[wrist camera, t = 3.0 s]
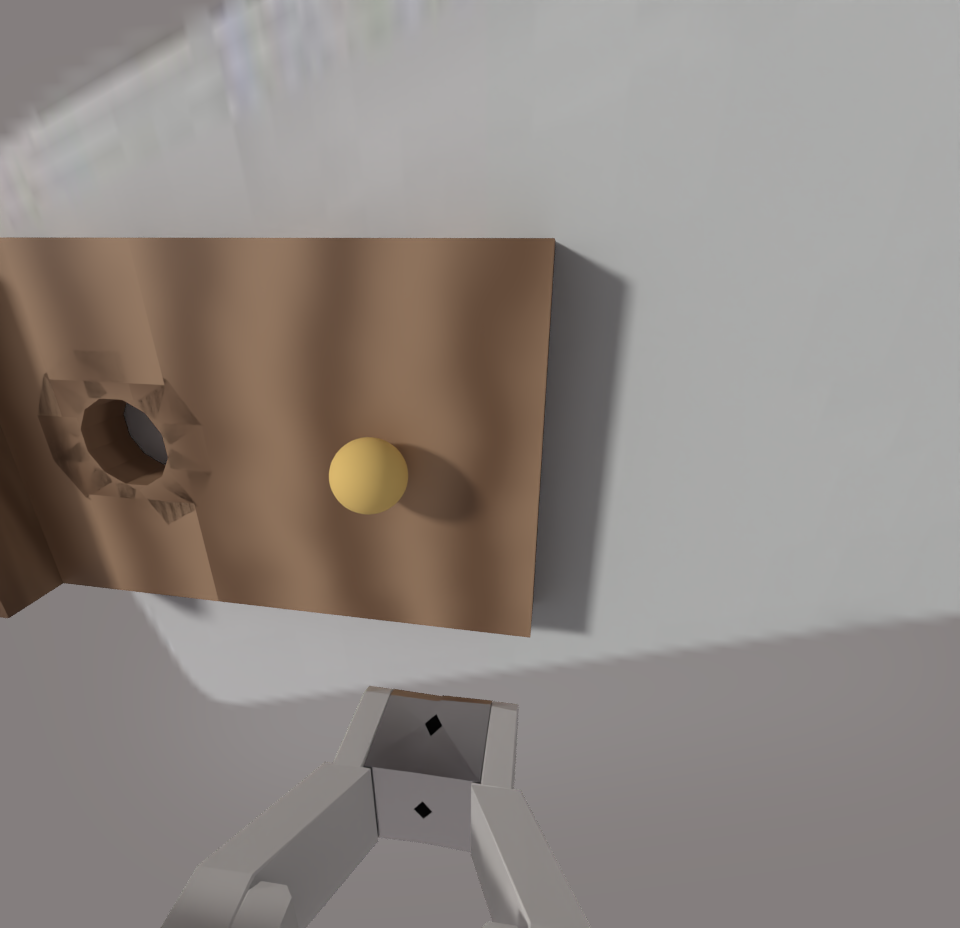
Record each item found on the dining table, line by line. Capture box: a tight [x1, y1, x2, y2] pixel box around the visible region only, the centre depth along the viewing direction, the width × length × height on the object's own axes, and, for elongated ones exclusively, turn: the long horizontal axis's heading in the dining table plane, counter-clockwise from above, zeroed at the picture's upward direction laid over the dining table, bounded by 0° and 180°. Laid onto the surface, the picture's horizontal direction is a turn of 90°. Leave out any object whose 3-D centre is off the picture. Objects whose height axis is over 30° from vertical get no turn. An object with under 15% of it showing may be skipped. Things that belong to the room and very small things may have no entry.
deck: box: [0, 238, 555, 637], centre depth 22 cm, size 28×18×6 cm, turn 89°
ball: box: [329, 437, 408, 514], centre depth 20 cm, size 3×3×3 cm
